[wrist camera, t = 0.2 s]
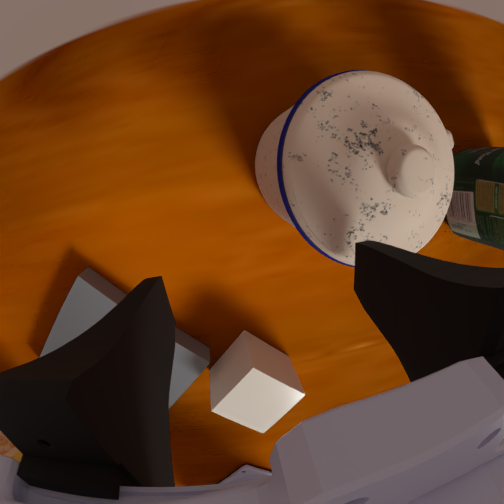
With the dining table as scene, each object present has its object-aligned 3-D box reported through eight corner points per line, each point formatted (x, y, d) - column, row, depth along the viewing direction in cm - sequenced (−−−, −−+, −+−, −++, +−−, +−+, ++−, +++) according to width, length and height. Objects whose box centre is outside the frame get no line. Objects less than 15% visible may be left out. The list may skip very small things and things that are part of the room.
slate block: (144, 420, 25) (141, 438, 23) (44, 357, 22) (33, 373, 20) (209, 344, 24) (210, 362, 21) (90, 264, 21) (78, 275, 19)
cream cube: (253, 392, 25) (263, 433, 20) (209, 369, 24) (211, 411, 19) (288, 356, 25) (305, 394, 20) (244, 329, 23) (253, 367, 19)
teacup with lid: (276, 249, 22) (340, 331, 11) (230, 124, 19) (257, 73, 8) (414, 195, 22) (530, 224, 11) (382, 84, 20) (494, 46, 9)
